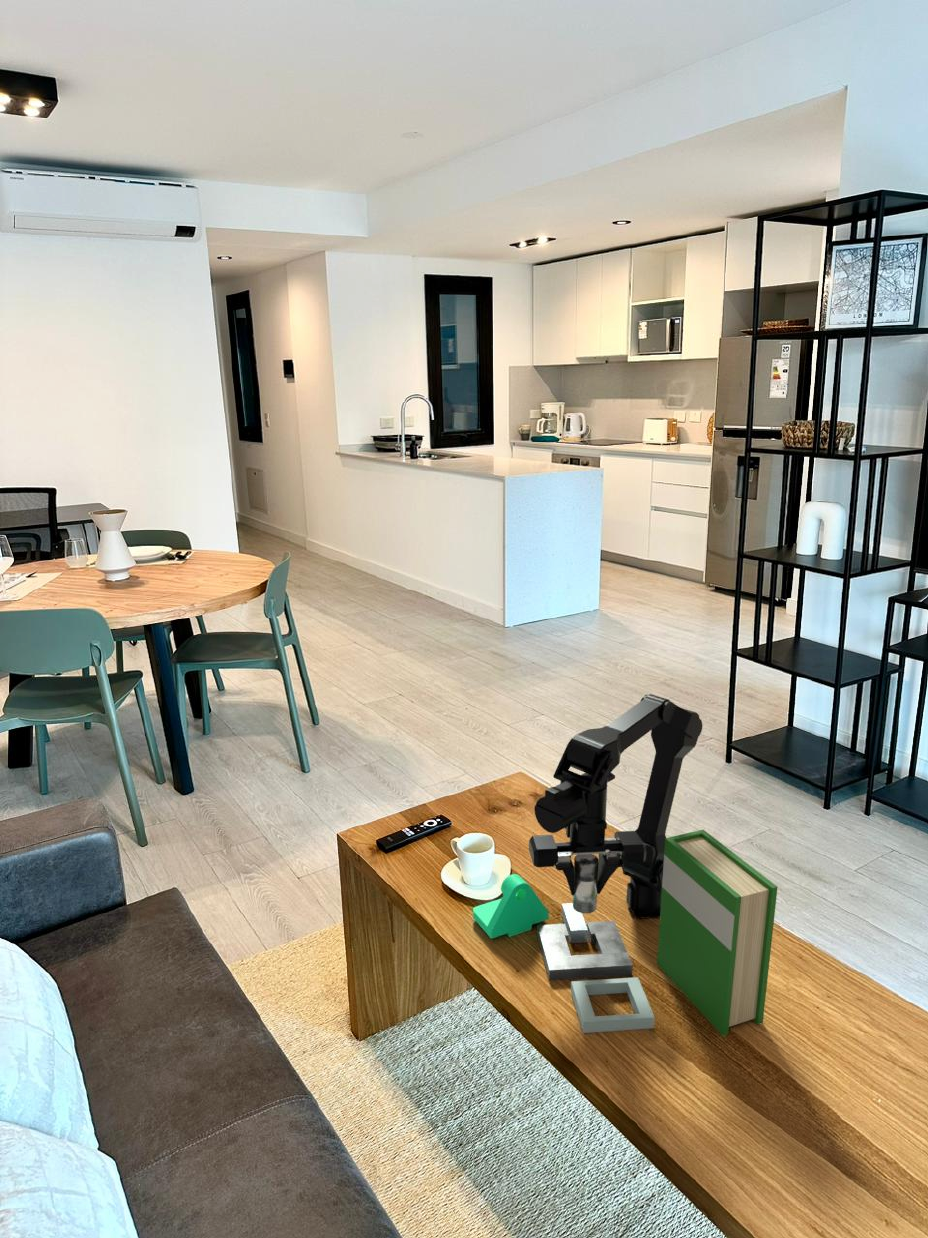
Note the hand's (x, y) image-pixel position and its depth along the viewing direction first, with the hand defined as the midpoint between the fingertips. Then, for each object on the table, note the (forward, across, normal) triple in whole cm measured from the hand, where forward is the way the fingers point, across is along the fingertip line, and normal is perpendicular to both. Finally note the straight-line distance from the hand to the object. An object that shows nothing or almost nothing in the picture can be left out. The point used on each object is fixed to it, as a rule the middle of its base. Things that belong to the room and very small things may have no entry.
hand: (585, 893), depth 142 cm
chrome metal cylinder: (+3, 0, 0) cm, 3 cm away
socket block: (+12, 0, 0) cm, 12 cm away
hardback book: (+12, -18, +11) cm, 25 cm away
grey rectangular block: (+12, 0, -7) cm, 14 cm away
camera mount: (+13, +11, -10) cm, 20 cm away
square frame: (+12, -2, +14) cm, 18 cm away
